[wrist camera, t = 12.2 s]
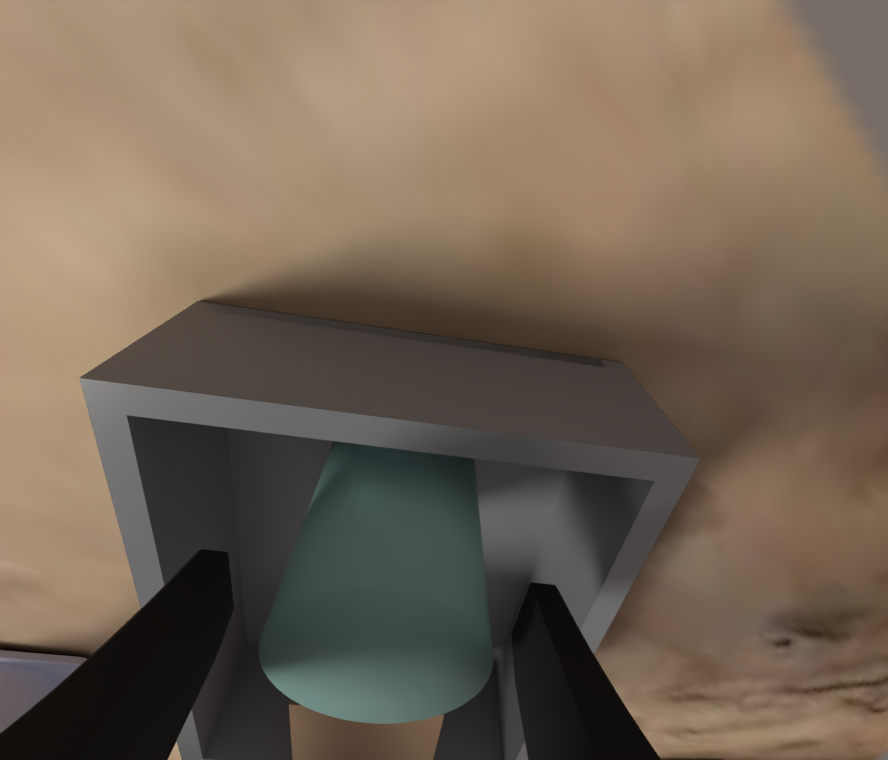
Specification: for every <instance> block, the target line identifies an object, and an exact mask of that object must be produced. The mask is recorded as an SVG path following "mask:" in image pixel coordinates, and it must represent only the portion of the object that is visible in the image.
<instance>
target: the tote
mask: <svg viewBox="0 0 888 760" xmlns="http://www.w3.org/2000/svg"><path fill="white" fill-rule="evenodd" d="M79 379H80V383H81V386H82V390H83V394H84V398H85V401H86V405H87V409H88V413H89V416H90V420H91V424H92V427H93V431H94V435H95V439H96V442H97V446H98V450H99V453H100V457H101V461H102V465H103V468H104V472H105V476H106V479H107V483H108V487H109V491H110V494H111V498H112V502H113V505H114V509H115V513H116V517H117V520H118V524H119V528H120V531H121V535H122V539H123V543H124V546H125V550H126V554H127V557H128V561H129V565H130V569H131V572H132V576H133V580H134V584H135V587H136V591H137V595H138V598H139V602H140V606H141V608H142V607H143V606H144V605H145V604H146V603H147V602H148V601H149V600H150V599H151V598H152V597H153V596H154V595H155V594H156V593H157V592H158V591H159V590H160V589H161V588H162V587H163V586H164V585H165V584H166V583H167V582H168V581H169V580H170V579H171V578H172V577H173V576H174V575H175V574H176V573H177V572H178V571H179V570H180V569H181V568H182V567H183V566H184V565H185V564H186V563H187V562H188V561H189V560H190V559H191V557H192V556H193V555H194V554H195V553H196V552H198V551H199V550H201V549H205V550H215V551H225V552H228V555H229V565H230V574H231V583H232V593H233V602H234V610H233V612H232V615H231V618H230V621H229V624H228V627H227V630H226V632H225V635H224V638H223V641H222V643H221V646H220V649H219V651H218V654H217V657H216V659H215V661H214V663H213V665H212V667H211V669H210V672H209V674H208V676H207V678H206V680H205V682H204V684H203V686H202V688H201V691H200V693H199V695H198V697H197V699H196V701H195V703H194V705H193V707H192V709H191V711H190V714H189V716H188V718H187V720H186V722H185V724H184V726H183V728H182V730H181V732H180V734H179V736H178V739H177V743H178V747H179V751H180V754H181V758H182V760H293V759H292V744H291V730H290V715H289V702H290V698H289V697H287V696H286V695H284V694H283V693H282V692H281V691H280V690H279V689H277V688H276V687H275V686H274V685H273V683H272V682H271V681H270V680H269V679H268V677H267V676H266V674H265V672H264V671H263V669H262V666H261V663H260V660H259V654H258V650H259V642H260V638H261V635H262V632H263V629H264V627H265V624H266V621H267V619H268V616H269V613H270V611H271V608H272V605H273V603H274V600H275V597H276V594H277V592H278V589H279V586H280V584H281V581H282V578H283V576H284V573H285V570H286V568H287V565H288V562H289V559H290V557H291V554H292V551H293V549H294V546H295V543H296V541H297V538H298V535H299V533H300V530H301V527H302V524H303V522H304V519H305V516H306V514H307V511H308V508H309V506H310V503H311V500H312V498H313V495H314V492H315V489H316V487H317V484H318V481H319V479H320V476H321V473H322V471H323V468H324V465H325V462H326V460H327V457H328V454H329V452H330V449H331V446H332V444H333V441H337V442H345V443H353V444H361V445H369V446H377V447H385V448H393V449H401V450H409V451H417V452H425V453H433V454H441V455H449V456H457V457H465V458H473V459H474V462H475V473H476V483H477V493H478V504H479V514H480V524H481V535H482V545H483V555H484V566H485V576H486V586H487V597H488V607H489V617H490V628H491V638H492V649H493V668H492V672H491V675H490V677H489V679H488V681H487V683H486V684H485V686H484V687H483V688H482V690H481V691H480V692H479V693H478V694H477V695H476V696H475V697H473V698H472V699H471V700H469V701H468V702H467V703H465V704H463V705H462V706H460V707H458V708H456V709H454V710H452V711H449V712H447V713H445V714H444V718H443V722H442V726H441V730H440V734H439V738H438V742H437V746H436V750H435V754H434V758H433V760H528V756H527V750H526V744H525V738H524V733H523V727H522V721H521V715H520V709H519V703H518V697H517V691H516V685H515V677H514V664H513V649H512V631H513V628H514V625H515V623H516V620H517V617H518V615H519V612H520V609H521V607H522V604H523V601H524V598H525V596H526V593H527V590H528V588H529V585H530V582H532V583H542V584H552V585H555V586H556V587H557V588H558V590H559V592H560V594H561V596H562V598H563V599H564V601H565V603H566V605H567V607H568V609H569V611H570V613H571V614H572V616H573V618H574V620H575V622H576V624H577V626H578V627H579V629H580V631H581V633H582V634H583V636H584V638H585V640H586V642H587V643H588V645H589V647H590V649H591V650H592V652H593V654H595V652H596V650H597V648H598V647H599V645H600V643H601V641H602V639H603V637H604V636H605V634H606V632H607V630H608V628H609V626H610V625H611V623H612V621H613V619H614V617H615V615H616V614H617V612H618V610H619V608H620V606H621V604H622V603H623V601H624V599H625V597H626V595H627V593H628V592H629V590H630V588H631V586H632V584H633V583H634V581H635V579H636V577H637V575H638V573H639V572H640V570H641V568H642V566H643V564H644V562H645V561H646V559H647V557H648V555H649V553H650V551H651V550H652V548H653V546H654V544H655V542H656V540H657V539H658V537H659V535H660V533H661V531H662V529H663V528H664V526H665V524H666V522H667V520H668V518H669V517H670V515H671V513H672V511H673V509H674V507H675V506H676V504H677V502H678V500H679V498H680V497H681V495H682V493H683V491H684V489H685V487H686V486H687V484H688V482H689V480H690V478H691V476H692V475H693V473H694V471H695V469H696V467H697V465H698V464H699V462H700V460H701V458H700V457H699V456H698V454H697V453H696V452H695V451H694V449H693V448H692V447H691V446H690V444H689V443H688V442H687V441H686V439H685V438H684V437H683V436H682V435H681V433H680V432H679V431H678V430H677V428H676V427H675V426H674V425H673V423H672V422H671V421H670V420H669V419H668V417H667V416H666V415H665V414H664V412H663V411H662V410H661V409H660V407H659V406H658V405H657V404H656V402H655V401H654V400H653V399H652V398H651V396H650V395H649V394H648V393H647V391H646V390H645V389H644V388H643V386H642V385H641V384H640V383H639V381H638V380H637V379H636V378H635V377H634V375H633V374H632V373H631V372H630V370H629V369H628V368H627V367H626V365H625V364H624V363H623V362H616V361H609V360H602V359H595V358H588V357H581V356H574V355H567V354H560V353H554V352H547V351H540V350H533V349H526V348H519V347H512V346H505V345H498V344H491V343H485V342H478V341H471V340H464V339H457V338H450V337H443V336H436V335H429V334H422V333H416V332H409V331H402V330H395V329H388V328H381V327H374V326H367V325H360V324H353V323H347V322H340V321H333V320H326V319H319V318H312V317H305V316H298V315H291V314H284V313H278V312H271V311H264V310H257V309H250V308H243V307H236V306H229V305H222V304H215V303H209V302H202V301H197V302H196V303H194V304H192V305H191V306H189V307H188V308H186V309H185V310H183V311H182V312H180V313H179V314H177V315H175V316H174V317H172V318H171V319H169V320H168V321H166V322H165V323H163V324H162V325H160V326H159V327H157V328H155V329H154V330H152V331H151V332H149V333H148V334H146V335H145V336H143V337H142V338H140V339H139V340H137V341H135V342H134V343H132V344H131V345H129V346H128V347H126V348H125V349H123V350H122V351H120V352H119V353H117V354H115V355H114V356H112V357H111V358H109V359H108V360H106V361H105V362H103V363H102V364H100V365H98V366H97V367H95V368H94V369H92V370H91V371H89V372H88V373H86V374H85V375H83V376H82V377H80V378H79Z"/></svg>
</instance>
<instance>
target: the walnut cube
mask: <svg viewBox="0 0 888 760" xmlns="http://www.w3.org/2000/svg"><path fill="white" fill-rule="evenodd" d="M289 715H290V730H291V744H292V759H293V760H433V758H434V754H435V750H436V746H437V742H438V738H439V734H440V730H441V726H442V722H443V718H444V714H442V715H439V716H436V717H432V718H428V719H424V720H419V721H413V722H406V723H395V724H376V723H363V722H354V721H349V720H343V719H339V718H335V717H331V716H327V715H324V714H322V713H319V712H316V711H313V710H311V709H309V708H306V707H304V706H302V705H300V704H299V703H297V702H295V701H293V700H292V699H290V702H289Z"/></svg>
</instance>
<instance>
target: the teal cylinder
mask: <svg viewBox="0 0 888 760" xmlns="http://www.w3.org/2000/svg"><path fill="white" fill-rule="evenodd" d="M258 654H259V660H260V663H261V666H262V669H263V671H264V672H265V674H266V676H267V677H268V679H269V680H270V681H271V682H272V683H273V685H274V686H275V687H276V688H277V689H279V690H280V691H281V692H282V693H283V694H284V695H286V696H287V697H289V698H290V699H292V700H293V701H295V702H297V703H299V704H300V705H302V706H304V707H306V708H309V709H311V710H313V711H316V712H319V713H322V714H324V715H327V716H331V717H335V718H339V719H343V720H349V721H354V722H363V723H376V724H395V723H406V722H413V721H419V720H424V719H428V718H432V717H436V716H439V715H442V714H445V713H447V712H449V711H452V710H454V709H456V708H458V707H460V706H462V705H463V704H465V703H467V702H468V701H469V700H471V699H472V698H473V697H475V696H476V695H477V694H478V693H479V692H480V691H481V690H482V688H483V687H484V686H485V684H486V683H487V681H488V679H489V677H490V675H491V672H492V668H493V649H492V638H491V628H490V617H489V607H488V597H487V586H486V576H485V566H484V555H483V545H482V535H481V524H480V514H479V504H478V493H477V483H476V473H475V462H474V459H473V458H465V457H457V456H449V455H441V454H433V453H425V452H417V451H409V450H401V449H393V448H385V447H377V446H369V445H361V444H353V443H345V442H337V441H333V444H332V446H331V449H330V452H329V454H328V457H327V460H326V462H325V465H324V468H323V471H322V473H321V476H320V479H319V481H318V484H317V487H316V489H315V492H314V495H313V498H312V500H311V503H310V506H309V508H308V511H307V514H306V516H305V519H304V522H303V524H302V527H301V530H300V533H299V535H298V538H297V541H296V543H295V546H294V549H293V551H292V554H291V557H290V559H289V562H288V565H287V568H286V570H285V573H284V576H283V578H282V581H281V584H280V586H279V589H278V592H277V594H276V597H275V600H274V603H273V605H272V608H271V611H270V613H269V616H268V619H267V621H266V624H265V627H264V629H263V632H262V635H261V638H260V642H259V650H258Z"/></svg>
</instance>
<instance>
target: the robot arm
mask: <svg viewBox="0 0 888 760" xmlns="http://www.w3.org/2000/svg"><path fill="white" fill-rule="evenodd" d="M233 610H234V602H233V593H232V583H231V574H230V565H229V555H228V552H225V551H215V550H205V549H201V550H199V551H198V552H196V553H195V554H194V555H193V556H192V557H191V559H190V560H189V561H188V562H187V563H186V564H185V565H184V566H183V567H182V568H181V569H180V570H179V571H178V572H177V573H176V574H175V575H174V576H173V577H172V578H171V579H170V580H169V581H168V582H167V583H166V584H165V585H164V586H163V587H162V588H161V589H160V590H159V591H158V592H157V593H156V594H155V595H154V596H153V597H152V598H151V599H150V600H149V601H148V602H147V603H146V604H145V605H144V606H143V607H142V608H141V609H140V610H139V611H138V612H137V613H136V614H135V615H134V616H133V617H132V618H131V619H130V620H129V621H128V622H127V623H126V624H125V625H123V626H122V627H121V628H120V629H119V630H118V631H117V632H116V633H115V634H114V635H113V636H112V637H111V638H110V639H109V640H108V641H107V642H106V643H105V644H103V645H102V646H101V647H100V648H99V649H98V650H97V651H96V652H95V653H94V654H92V655H91V656H90V657H89V658H88V659H87V658H84V657H76V656H65V655H53V654H41V653H29V652H18V651H6V650H0V760H167V759H168V757H169V755H170V753H171V751H172V749H173V747H174V745H175V743H176V741H177V739H178V736H179V734H180V732H181V730H182V728H183V726H184V724H185V722H186V720H187V718H188V716H189V714H190V711H191V709H192V707H193V705H194V703H195V701H196V699H197V697H198V695H199V693H200V691H201V688H202V686H203V684H204V682H205V680H206V678H207V676H208V674H209V672H210V669H211V667H212V665H213V663H214V661H215V659H216V657H217V654H218V651H219V649H220V646H221V643H222V641H223V638H224V635H225V632H226V630H227V627H228V624H229V621H230V618H231V615H232V612H233ZM512 649H513V664H514V677H515V685H516V691H517V697H518V703H519V709H520V715H521V721H522V727H523V733H524V738H525V744H526V750H527V756H528V760H661V759H660V757H659V756H658V755H657V753H656V752H655V750H654V749H653V747H652V746H651V744H650V743H649V741H648V740H647V739H646V737H645V736H644V734H643V733H642V731H641V730H640V728H639V726H638V725H637V723H636V722H635V720H634V719H633V717H632V716H631V714H630V713H629V711H628V710H627V708H626V707H625V705H624V703H623V702H622V700H621V699H620V697H619V695H618V694H617V692H616V691H615V689H614V687H613V686H612V684H611V682H610V681H609V679H608V677H607V676H606V674H605V672H604V671H603V669H602V667H601V666H600V664H599V662H598V661H597V659H596V657H595V656H594V654H593V652H592V650H591V649H590V647H589V645H588V643H587V642H586V640H585V638H584V636H583V634H582V633H581V631H580V629H579V627H578V626H577V624H576V622H575V620H574V618H573V616H572V614H571V613H570V611H569V609H568V607H567V605H566V603H565V601H564V599H563V598H562V596H561V594H560V592H559V590H558V588H557V587H556V586H555V585H552V584H542V583H532V582H530V585H529V588H528V590H527V593H526V596H525V598H524V601H523V604H522V607H521V609H520V612H519V615H518V617H517V620H516V623H515V625H514V628H513V631H512Z"/></svg>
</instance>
